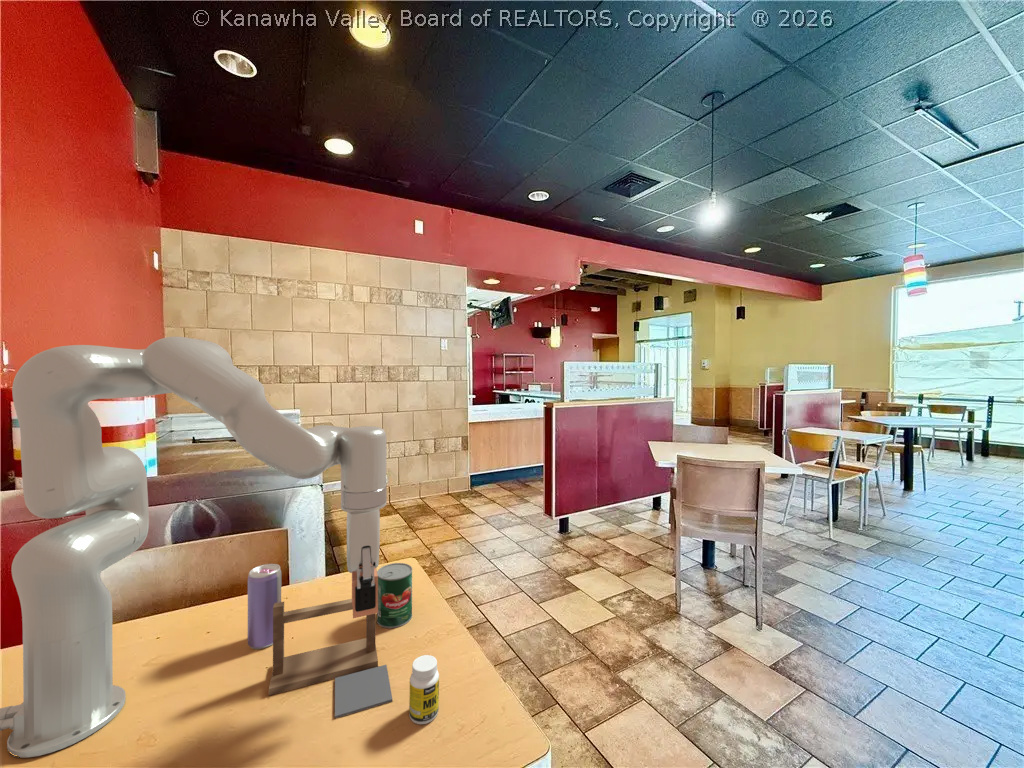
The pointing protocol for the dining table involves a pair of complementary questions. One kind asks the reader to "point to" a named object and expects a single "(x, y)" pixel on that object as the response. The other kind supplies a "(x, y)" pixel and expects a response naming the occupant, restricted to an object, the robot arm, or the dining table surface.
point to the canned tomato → (394, 595)
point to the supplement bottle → (424, 690)
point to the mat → (362, 691)
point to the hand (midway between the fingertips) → (364, 599)
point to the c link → (354, 584)
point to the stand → (318, 651)
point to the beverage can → (262, 604)
